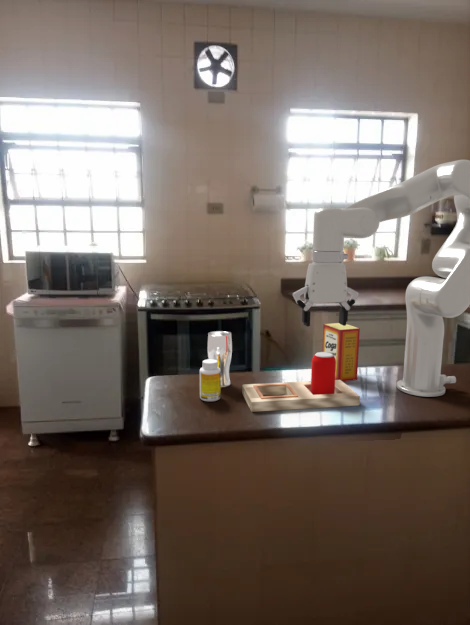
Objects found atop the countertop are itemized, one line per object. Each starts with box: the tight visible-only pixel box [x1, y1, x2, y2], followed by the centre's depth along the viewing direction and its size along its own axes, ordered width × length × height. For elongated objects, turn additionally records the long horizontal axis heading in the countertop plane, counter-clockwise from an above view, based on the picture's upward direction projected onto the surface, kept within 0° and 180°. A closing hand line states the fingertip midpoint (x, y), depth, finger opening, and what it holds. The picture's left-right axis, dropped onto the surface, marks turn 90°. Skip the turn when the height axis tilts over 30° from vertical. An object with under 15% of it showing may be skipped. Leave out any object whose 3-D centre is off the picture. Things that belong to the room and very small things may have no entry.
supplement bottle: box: [198, 358, 222, 403], centre depth 119 cm, size 6×6×10 cm
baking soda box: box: [321, 322, 361, 382], centre depth 138 cm, size 10×6×16 cm
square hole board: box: [241, 380, 361, 413], centre depth 119 cm, size 28×13×3 cm, turn 99°
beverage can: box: [310, 351, 336, 395], centre depth 120 cm, size 6×6×12 cm
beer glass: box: [207, 330, 233, 388], centre depth 130 cm, size 7×7×15 cm
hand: (324, 325), depth 117 cm, fingers open, 9 cm apart
